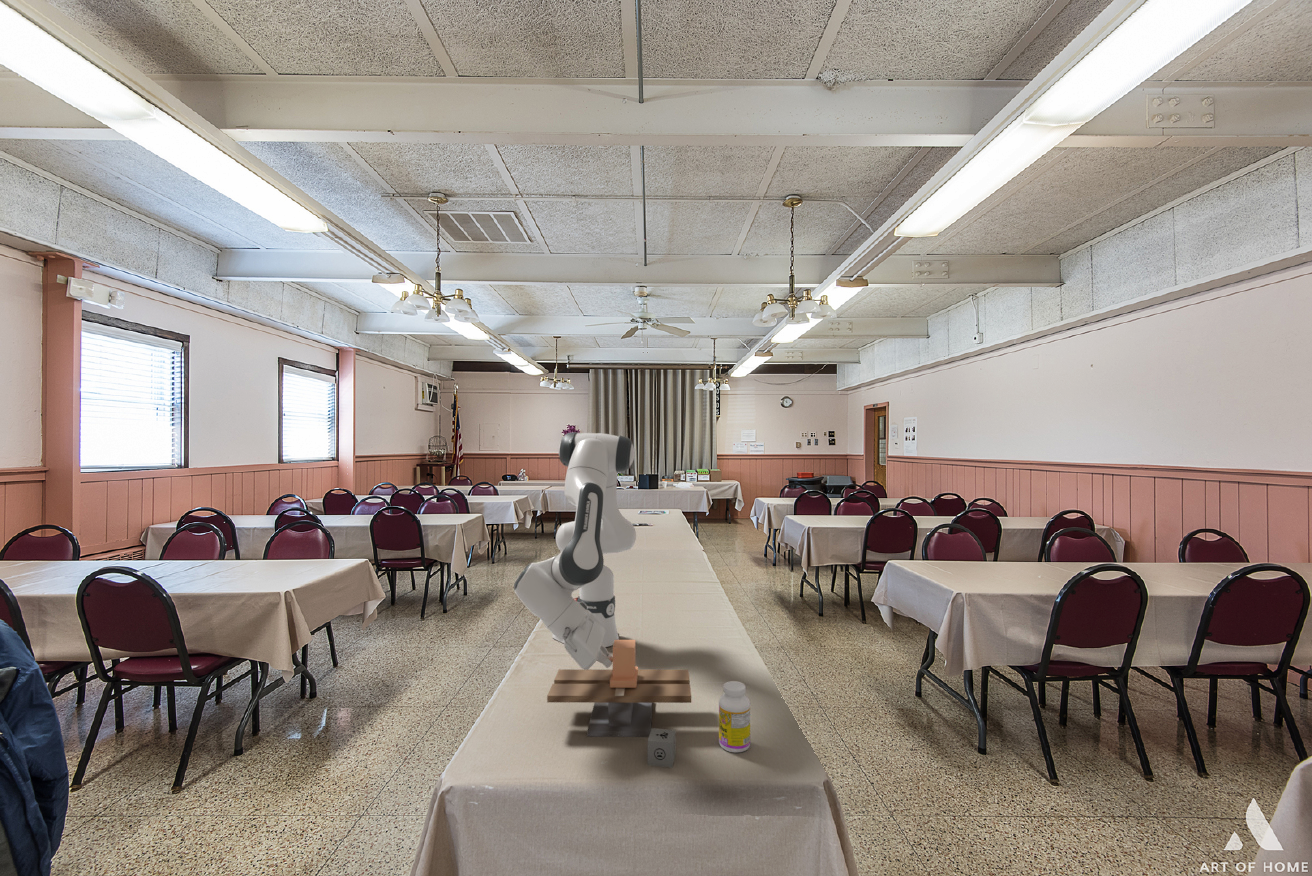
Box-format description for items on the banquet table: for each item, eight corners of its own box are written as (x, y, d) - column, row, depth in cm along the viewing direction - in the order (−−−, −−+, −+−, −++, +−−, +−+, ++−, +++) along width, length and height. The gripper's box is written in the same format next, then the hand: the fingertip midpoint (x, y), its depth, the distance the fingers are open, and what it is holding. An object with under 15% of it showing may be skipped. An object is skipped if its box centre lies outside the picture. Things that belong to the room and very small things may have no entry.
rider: (610, 693, 128) (609, 650, 128) (613, 678, 136) (612, 637, 136) (636, 693, 128) (636, 650, 128) (637, 678, 136) (637, 637, 136)
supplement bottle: (716, 737, 124) (716, 679, 124) (746, 736, 124) (745, 678, 124) (722, 755, 117) (722, 693, 117) (753, 753, 118) (753, 691, 117)
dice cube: (672, 768, 113) (672, 743, 113) (647, 765, 114) (647, 740, 113) (675, 754, 118) (675, 730, 118) (652, 751, 118) (651, 728, 118)
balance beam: (546, 736, 124) (546, 696, 124) (559, 701, 140) (559, 667, 140) (691, 736, 124) (691, 697, 124) (688, 702, 140) (688, 667, 140)
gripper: (571, 627, 122) (616, 672, 122) (584, 599, 142) (623, 638, 142) (550, 648, 122) (596, 693, 122) (566, 617, 142) (605, 656, 142)
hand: (610, 663), depth 132 cm, fingers closed, pressing on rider
